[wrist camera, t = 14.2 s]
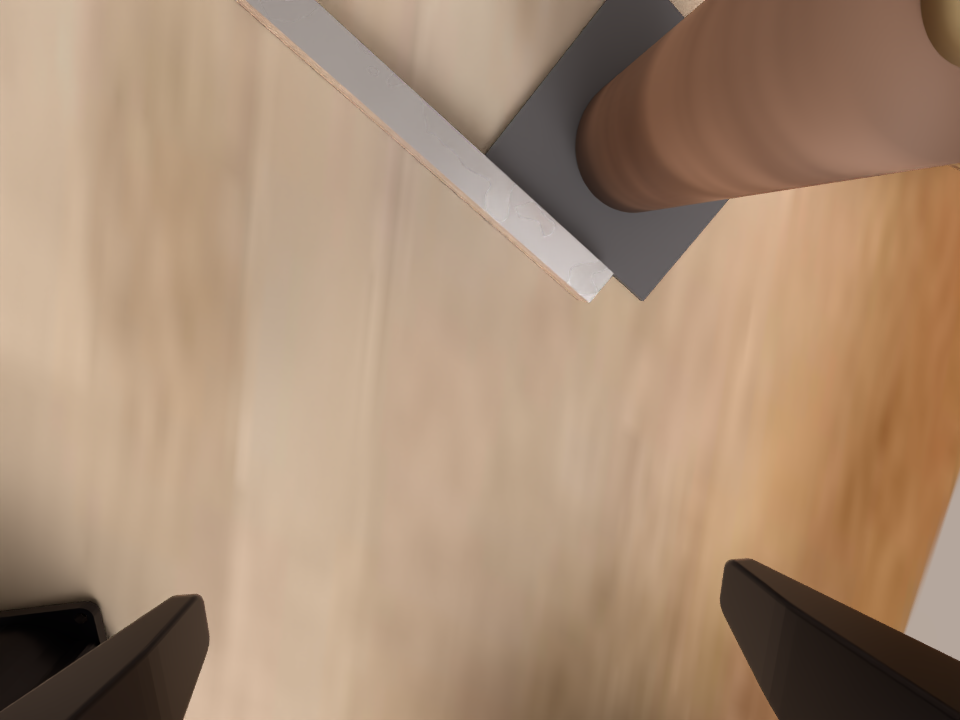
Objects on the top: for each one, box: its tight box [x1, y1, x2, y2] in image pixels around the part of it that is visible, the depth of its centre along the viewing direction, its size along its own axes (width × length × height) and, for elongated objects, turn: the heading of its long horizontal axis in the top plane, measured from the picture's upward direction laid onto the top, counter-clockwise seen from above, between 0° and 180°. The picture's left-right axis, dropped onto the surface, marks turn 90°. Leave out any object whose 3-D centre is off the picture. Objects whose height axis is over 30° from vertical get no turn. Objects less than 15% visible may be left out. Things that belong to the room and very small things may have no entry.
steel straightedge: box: [235, 0, 614, 303], centre depth 18 cm, size 18×2×2 cm, turn 50°
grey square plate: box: [485, 0, 729, 301], centre depth 20 cm, size 9×9×1 cm
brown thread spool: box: [575, 0, 960, 213], centre depth 13 cm, size 5×5×13 cm
